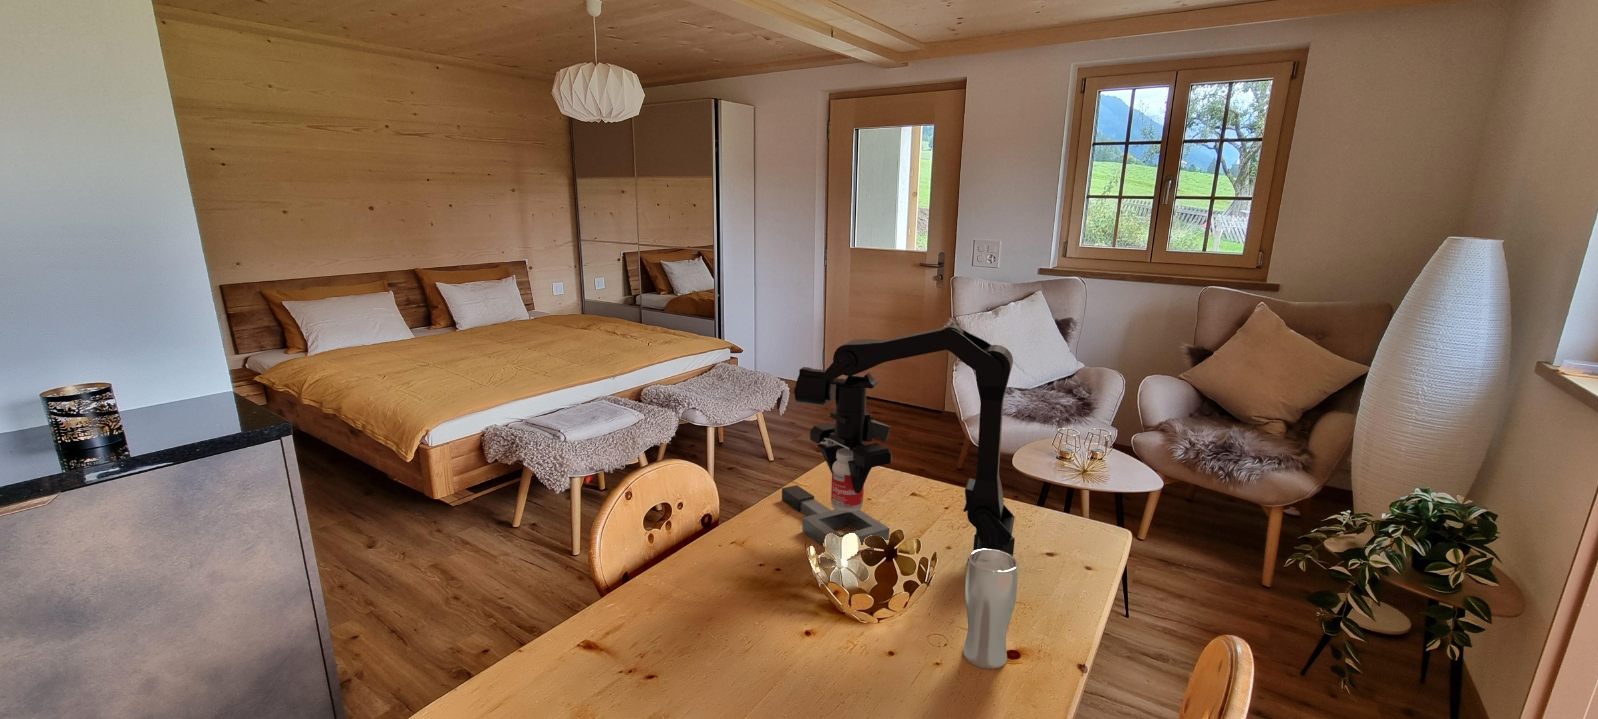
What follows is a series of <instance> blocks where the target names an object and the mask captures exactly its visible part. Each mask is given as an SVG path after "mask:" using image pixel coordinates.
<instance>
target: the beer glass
mask: <svg viewBox="0 0 1598 719" xmlns="http://www.w3.org/2000/svg"><path fill="white" fill-rule="evenodd" d="M968 558H969V562H968V561H967V562H968V563H967V564H968V565H967V567H966V568H967V569H966V574H965V576H966V577H965V582H964V583H965V584H964V585H965V586H964V598H965V610H966V617H967V618H966V619H967V620H966V621H967V633H966V634H967V635H966V638H965V641H964V645H963V650H962V654H963V657H964V658H965V659H966V660H967V661H968V662H969V663H970V664H972V665H974V666H975V667H978V668H981V669H985V670H995V669H1000V668H1002V667H1004V666H1005V665H1006V663H1007V661H1008V654H1007V653H1008V651H1007V643H1006V642H1007V633H1008V630H1009V626H1010V623H1011V620H1012V616H1013V614H1014V610H1015V606H1016V603H1017V602H1016V601H1017V594H1018V579H1019V578H1018V573H1019V572H1018V568H1019V562H1018V560H1017V559H1016V557H1014V555H1013V556H1011V555H1010V554H1008V553H1006V552H1003V551H999V550H995V549H978V550H975V551H973V550H972V551H971V552H970V554H969V555H968Z"/></svg>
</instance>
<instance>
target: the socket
mask: <svg viewBox="0 0 1598 719" xmlns="http://www.w3.org/2000/svg"><path fill="white" fill-rule="evenodd" d="M781 501H782V502H783V503H785V504H786V505H787V506H789V507H790V508H792V509H794V510H795V511H796V512H797V513H801V514H802V515H804V516H803V517H802V529H801V530H802V533H803V534H804V535H806V536H807V537H809V538H810V539H811V540H813V541H814V542H816V543H817V544H818V545H819V546H820V547H822V548H824V547H823V543H824V539H825V536H826V535H827V534H829V533H833V534H835V535H837V536H839V537H843V536H844V535H846V534H848V533H855V534H856V535H857V536H858V537H859V539H860V542H861V545H863V542H864V539H865V538H866V537H868V536H870V535H878V536H881V537H883V538H884V539H885V540H889V541H890V527H888V526H886V525H885V524H883V523H882V522H880V521H879V520H877V519H876V518H873V517H872V516H870V515H869V514H867V513H866V512H864V511H862V510H861V509H860V510H858V511H855V512H842V511H838V510H836V509H830V508H829V507H827V506H825V505H824V504H822V503H821V502H819V501H818V500H816V499H815V496H814V495H813V494H812V493H810V492H809V491H807V490H805V489H804V488H803V487H800V485H798V484H795V485H790V486H786V487H782V488H781ZM845 527H851V528H852V529H854V530H855V531H850V532H847V533H843V534H840V533H838V531H836V530H838V529H841V528H845Z"/></svg>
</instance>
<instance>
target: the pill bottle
mask: <svg viewBox="0 0 1598 719" xmlns="http://www.w3.org/2000/svg"><path fill="white" fill-rule="evenodd" d="M836 458H837V461H836V462H834V464H833V466H832V473H831V490H830V491H831V493H830V505H831V507H832V508H833V510H835V509H836V510H838V511H842V512H855V511H858V510H861V509H862V508H863V505H864V489H865V485H864V486H863V488H862V490H861V492H860V493H855V491H854V487H853V483H852V479H851V474H850V470H849V465H848V461H851V460H854V459H853V451H851V450H849V449H847V448H842V449H839V450H837V453H836Z"/></svg>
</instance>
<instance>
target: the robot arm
mask: <svg viewBox="0 0 1598 719" xmlns="http://www.w3.org/2000/svg"><path fill="white" fill-rule="evenodd" d="M942 351H948V352H950V353H951V354H953V355H954V356H955V357H956V358H957V359H959V360H960V361H961V362H963V363H964V364H965V365H966V366H967V367H970V368H971V369H972V370H974V371H975V372H974V373H975V377H976V385H977V390H978V394H979V400H980V408H979V409H980V410H979V423H978V424H979V425H978V426H979V427H978V441H977V442H978V443H977V444H978V445H977V461H976V462H977V463H976V477H975V479H974V478H971V477H970V478H968V481H967V483H966V486H965V488H964V494H965V496H964V497H965V505H964V508H963V512H964V513H965V512H967V513H966V514H967V520H968V522H969V523H970V524H971V525H972V526H973V527H974V528H976V529H975V534H974V536H973V547H972V552H973V551H975V550H978V549H995V550H999V551H1003V552H1006V553H1008V554H1010V555H1011V556H1013V557H1014V550H1015V540H1016V538H1015V537H1014V536H1013V530H1014V523H1015V519H1016V518H1015V515H1014V514H1013V513H1012V512H1011V511H1010V510H1009V508H1008V507H1007V505H1005V504H1004V501H1005V500H1004V494H1003V487H1002V482H1001V478H1000V462H1001V460H1000V459H1001V445H1002V429H1003V427H1002V426H1003V414H1004V413H1003V410H1004V398H1005V396H1006V395H1005V394H1006V390H1007V388H1008V384H1009V381H1010V380H1009V379H1010V376H1011V371H1012V367H1013V365H1014V358H1013V355H1012V353H1011V352H1010V350H1009V349H1007V348H1006V347H1005V346H1003V345H1000V344H991V343H990V342H988V341H986V340H984V339H983V338H981V337H979V336H976V335H975V334H973V333H970V332H968V331H966V329H964V328H963V327H961V326H959V325H958V324H954V323H953V324H948V325H947V326H944V327H939V328H935V329H931V330H926V331H921V332H916V333H911V334H907V335H901V336H897V337H892V338H888V339H873V338H869V339H868V338H867V339H862V338H861V339H851V340H849V341H847V342H846V343H844V344H842V345H840V346H838V347H837V348H836V350H835V351H834V353H833V357H832V362H831V364H830V365H829V367H828V368H826V369H817V368H813V367H806V366H803V367H801V368H800V369H799V370H798V371H799V372H798V376H797V379H796V382H795V386H794V388H793V389H794V391H793V392H794V399H795V401H796V403H799V404H808V405H816V406H825V407H826V406H827V405H828V404H829V403H830V402H832V401H835V402H834V405H835V406H834V411H830V413H829V414H830V415H829V417H830V418H831V419H832V420H834V422H830V423H824V424H823V423H822V424H817V425H813V427H812V428H811V429H810V432H809V437H810V438H809V440H810V441H812V442H813V443H815V444H817V446H816V447H817V448H818V449H819V450H820V452H821V454H822V456H823V458H824V461H825V462H826V464H827V467H828V469H829V471H830V473H831V474H832V466H833V464H834V462H836V461H837V458H836V453H837V450H839V449H842V448H847V449H849V450H851V451H853V459H854V460H851V461H848V465H849V470H850V474H851V479H852V483H853V487H854V491H855V493H860V492H861V490H862V488H863V486H864V487H865V483H866V480H867V478H868V476H869V473H870V472H871V470H872V468H876V467H880V466H884V465H889V464H891V463H892V456H893V455H892V450H890V449H889V448H888V447H886V446H884V445H882V444H880V443H878V442H875V443H870V444H864V442H866V443H869V442H873V440H874V439H875V440H879V441H881V442H882V443H886V442H887V440H888V438H889V434H890V431H891V428H892V427H891V426H890V425H887V424H885V423H883V422H880V421H877V420H875V419H874V418H873V414H871V413H868V412H866V410H867V409H866V408H867V389H874V388H875V387H876V386H877V385H878V384H879V381H878V380H876V379H875V377H873V376H872V374H871V372H867V373H866V374H865V375H864V376H862V375H858V374H860V373H862V372H865V371H867V370H870V369H872V368H874V367H876V366H877V367H878V366H879V365H882V364H883V363H886V362H892V361H896V360H902V359H907V358H912V357H917V356H922V355H923V356H924V355H928V354H932V353H938V352H942ZM841 376H847V377H846V378H841ZM839 377H840V378H839ZM834 399H835V400H834ZM967 562H969V557H968V558H967Z"/></svg>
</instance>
